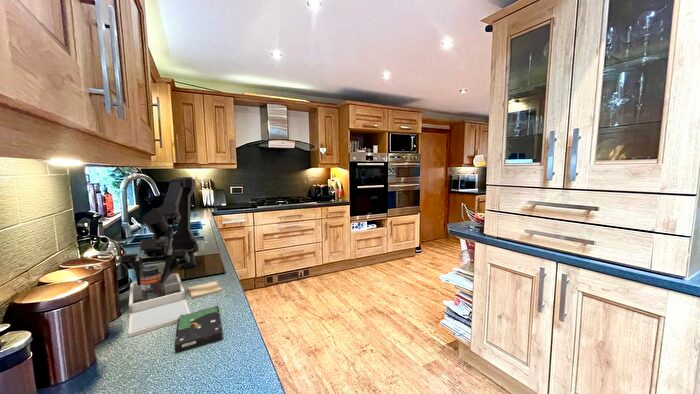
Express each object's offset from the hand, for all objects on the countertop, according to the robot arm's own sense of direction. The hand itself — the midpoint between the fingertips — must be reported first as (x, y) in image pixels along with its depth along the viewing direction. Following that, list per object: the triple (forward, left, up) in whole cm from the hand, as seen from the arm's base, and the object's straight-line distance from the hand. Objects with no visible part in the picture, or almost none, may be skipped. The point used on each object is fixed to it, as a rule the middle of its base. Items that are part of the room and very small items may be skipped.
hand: (150, 283), depth 87 cm
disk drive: (+26, +9, -7) cm, 28 cm away
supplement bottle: (-1, +1, -7) cm, 7 cm away
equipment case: (+2, +2, -7) cm, 7 cm away
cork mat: (0, +15, -7) cm, 16 cm away
